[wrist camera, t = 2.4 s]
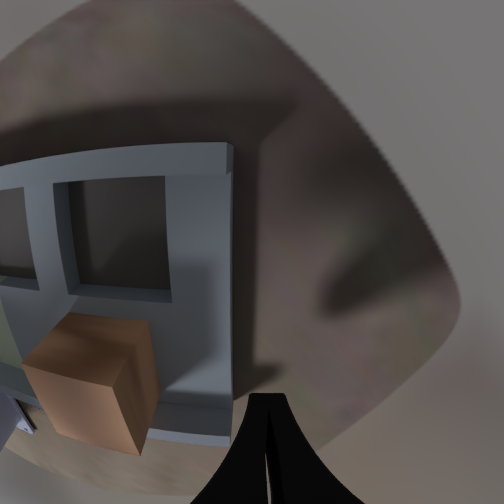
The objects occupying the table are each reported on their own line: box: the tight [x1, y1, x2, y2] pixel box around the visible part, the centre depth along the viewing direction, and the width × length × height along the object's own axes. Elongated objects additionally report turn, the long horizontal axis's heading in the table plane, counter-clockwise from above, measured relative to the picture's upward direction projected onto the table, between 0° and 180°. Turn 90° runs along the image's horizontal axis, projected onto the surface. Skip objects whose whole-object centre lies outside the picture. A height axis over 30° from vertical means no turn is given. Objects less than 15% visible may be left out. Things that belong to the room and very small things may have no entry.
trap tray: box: [0, 142, 234, 447], centre depth 12 cm, size 22×14×4 cm, turn 89°
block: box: [21, 312, 162, 456], centre depth 11 cm, size 4×4×4 cm
